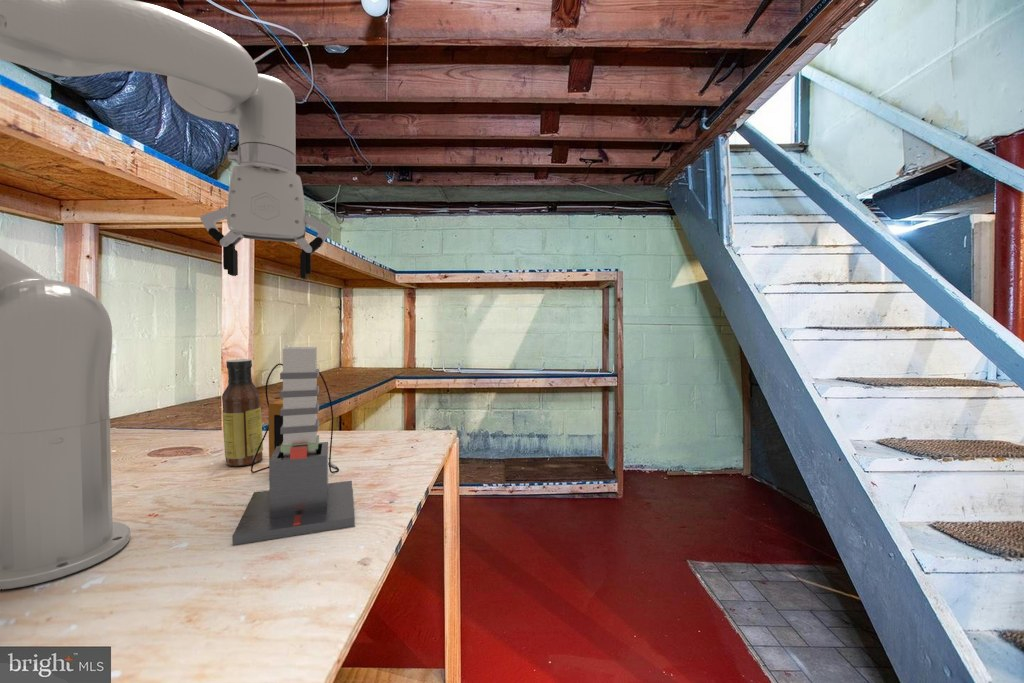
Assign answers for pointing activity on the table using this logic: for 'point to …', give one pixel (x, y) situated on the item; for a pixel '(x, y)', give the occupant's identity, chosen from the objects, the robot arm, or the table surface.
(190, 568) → the table surface
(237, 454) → the sauce bottle
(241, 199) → the robot arm
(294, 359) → the column
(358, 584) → the table surface
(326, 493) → the stand base
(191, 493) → the table surface
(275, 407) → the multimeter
